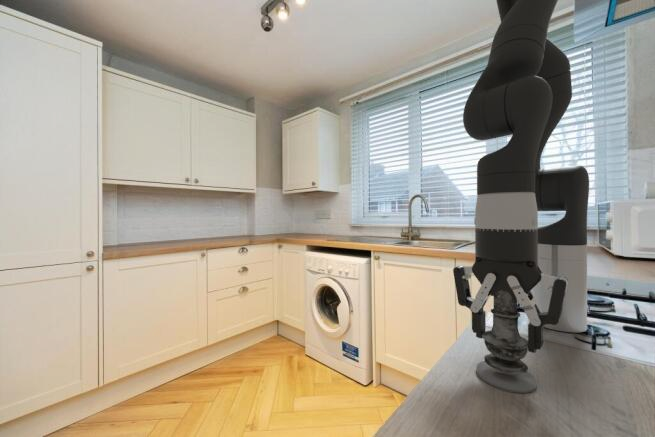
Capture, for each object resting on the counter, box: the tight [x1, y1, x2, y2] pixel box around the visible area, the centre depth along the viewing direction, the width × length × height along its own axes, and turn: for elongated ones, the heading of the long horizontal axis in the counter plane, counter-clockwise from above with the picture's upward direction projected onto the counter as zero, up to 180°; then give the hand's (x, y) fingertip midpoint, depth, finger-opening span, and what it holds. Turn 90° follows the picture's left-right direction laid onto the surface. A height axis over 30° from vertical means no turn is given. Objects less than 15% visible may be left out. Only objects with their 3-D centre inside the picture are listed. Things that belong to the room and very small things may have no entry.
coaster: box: [476, 360, 537, 394], centre depth 40 cm, size 7×7×1 cm
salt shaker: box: [482, 290, 529, 374], centre depth 40 cm, size 6×6×12 cm
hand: (505, 342), depth 40 cm, fingers closed on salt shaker, 6 cm apart
